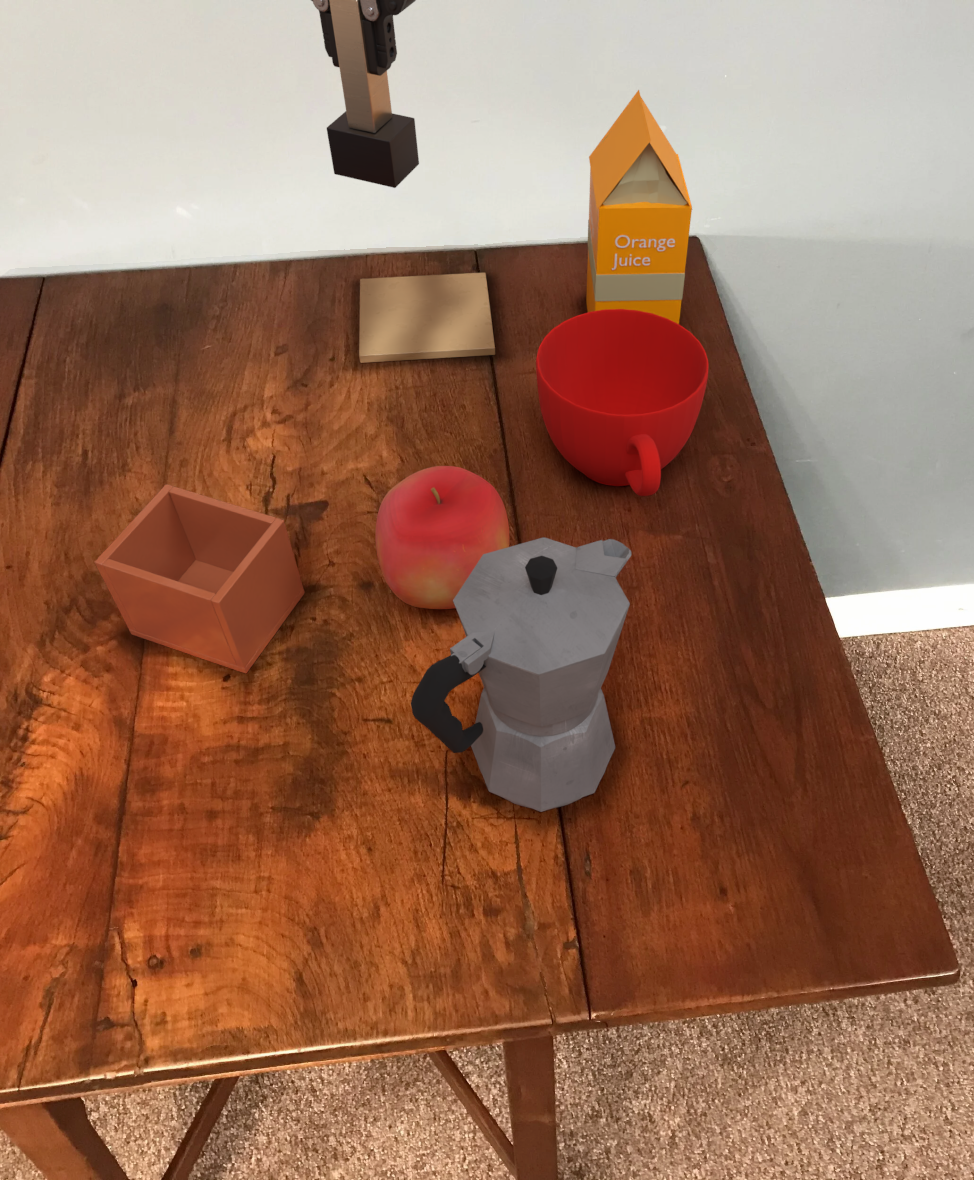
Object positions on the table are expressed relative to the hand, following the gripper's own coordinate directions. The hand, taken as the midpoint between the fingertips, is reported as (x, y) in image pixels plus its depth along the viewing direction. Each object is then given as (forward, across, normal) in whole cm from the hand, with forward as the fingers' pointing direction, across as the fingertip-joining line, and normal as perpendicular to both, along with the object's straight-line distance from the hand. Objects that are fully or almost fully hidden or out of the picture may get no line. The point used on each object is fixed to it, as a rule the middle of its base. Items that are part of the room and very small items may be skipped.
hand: (362, 66), depth 73 cm
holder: (+25, -2, +31) cm, 40 cm away
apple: (+25, -16, +23) cm, 38 cm away
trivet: (+25, 0, -6) cm, 26 cm away
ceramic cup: (+25, -24, +7) cm, 35 cm away
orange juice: (+25, -18, -12) cm, 33 cm away
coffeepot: (+25, -27, +34) cm, 50 cm away
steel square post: (+8, 0, 0) cm, 8 cm away
